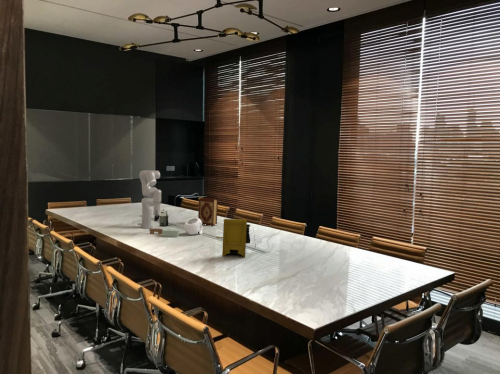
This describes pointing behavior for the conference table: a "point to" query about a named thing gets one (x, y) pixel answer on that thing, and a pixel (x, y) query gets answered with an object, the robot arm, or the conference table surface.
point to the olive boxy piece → (235, 236)
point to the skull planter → (193, 226)
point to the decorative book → (208, 210)
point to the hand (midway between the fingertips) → (156, 220)
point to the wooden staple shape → (160, 231)
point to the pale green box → (170, 232)
